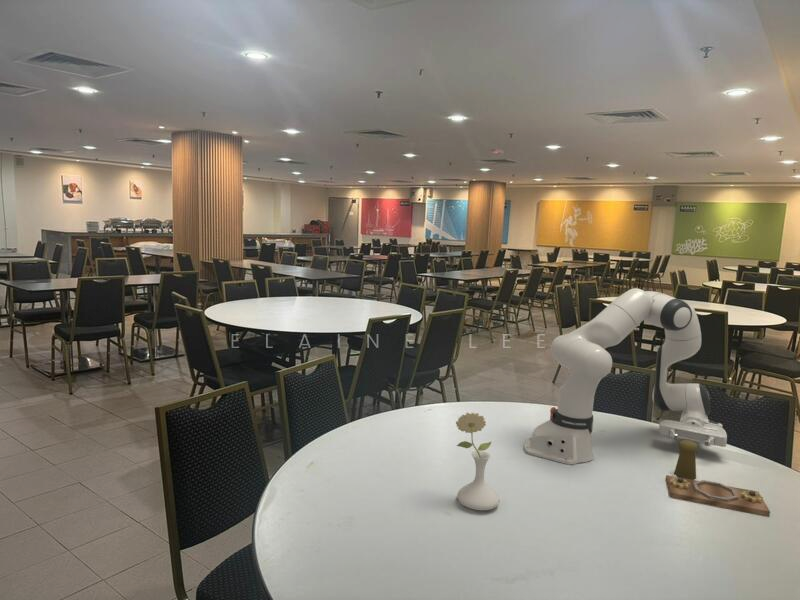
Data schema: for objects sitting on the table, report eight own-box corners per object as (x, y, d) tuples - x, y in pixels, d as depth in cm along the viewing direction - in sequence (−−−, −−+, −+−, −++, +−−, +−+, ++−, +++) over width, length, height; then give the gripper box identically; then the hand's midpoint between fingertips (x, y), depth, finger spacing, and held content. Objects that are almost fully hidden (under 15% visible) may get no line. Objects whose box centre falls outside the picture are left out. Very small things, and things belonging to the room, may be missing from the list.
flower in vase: (502, 498, 148) (508, 410, 145) (495, 518, 137) (502, 424, 134) (456, 488, 152) (461, 403, 149) (446, 508, 141) (451, 416, 138)
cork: (698, 481, 163) (703, 446, 162) (677, 478, 165) (681, 444, 163) (692, 472, 169) (696, 439, 168) (671, 470, 170) (675, 436, 169)
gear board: (670, 497, 152) (671, 485, 152) (665, 479, 163) (667, 468, 163) (769, 516, 144) (771, 503, 144) (757, 496, 155) (759, 484, 155)
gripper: (661, 412, 193) (657, 424, 181) (727, 424, 183) (727, 438, 171) (659, 429, 194) (655, 442, 182) (725, 442, 183) (725, 456, 172)
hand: (690, 440), depth 176 cm, fingers open, 8 cm apart
